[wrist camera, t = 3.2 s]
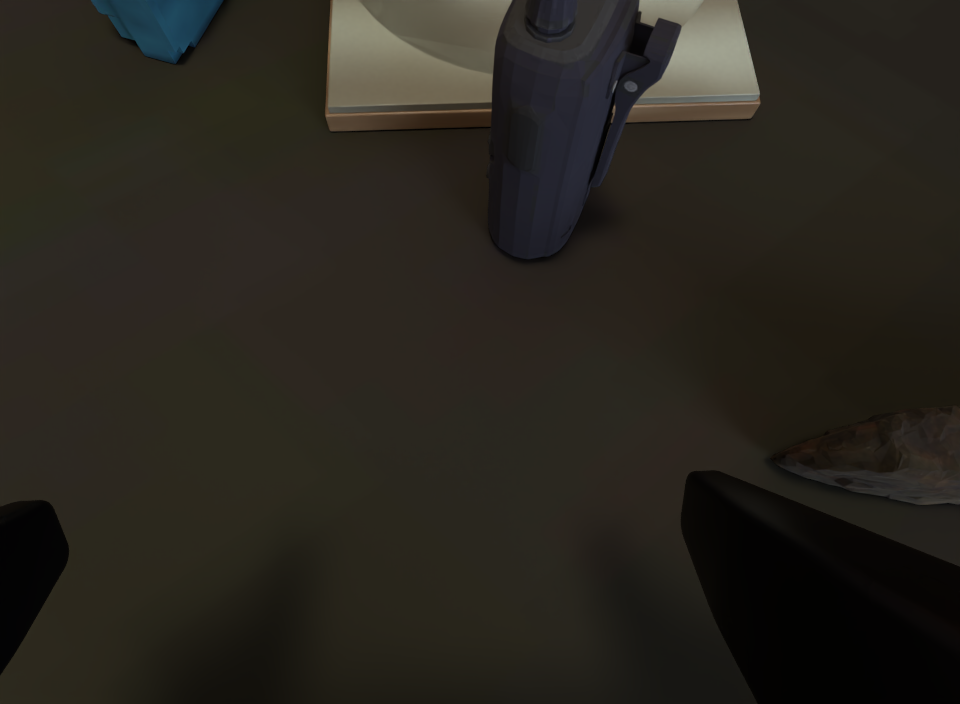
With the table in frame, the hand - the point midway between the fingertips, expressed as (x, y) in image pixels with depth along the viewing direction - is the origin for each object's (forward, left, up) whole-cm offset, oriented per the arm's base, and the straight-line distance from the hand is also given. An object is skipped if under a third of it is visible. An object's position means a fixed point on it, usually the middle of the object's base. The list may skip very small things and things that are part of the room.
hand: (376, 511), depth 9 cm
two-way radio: (+3, -13, -13) cm, 18 cm away
